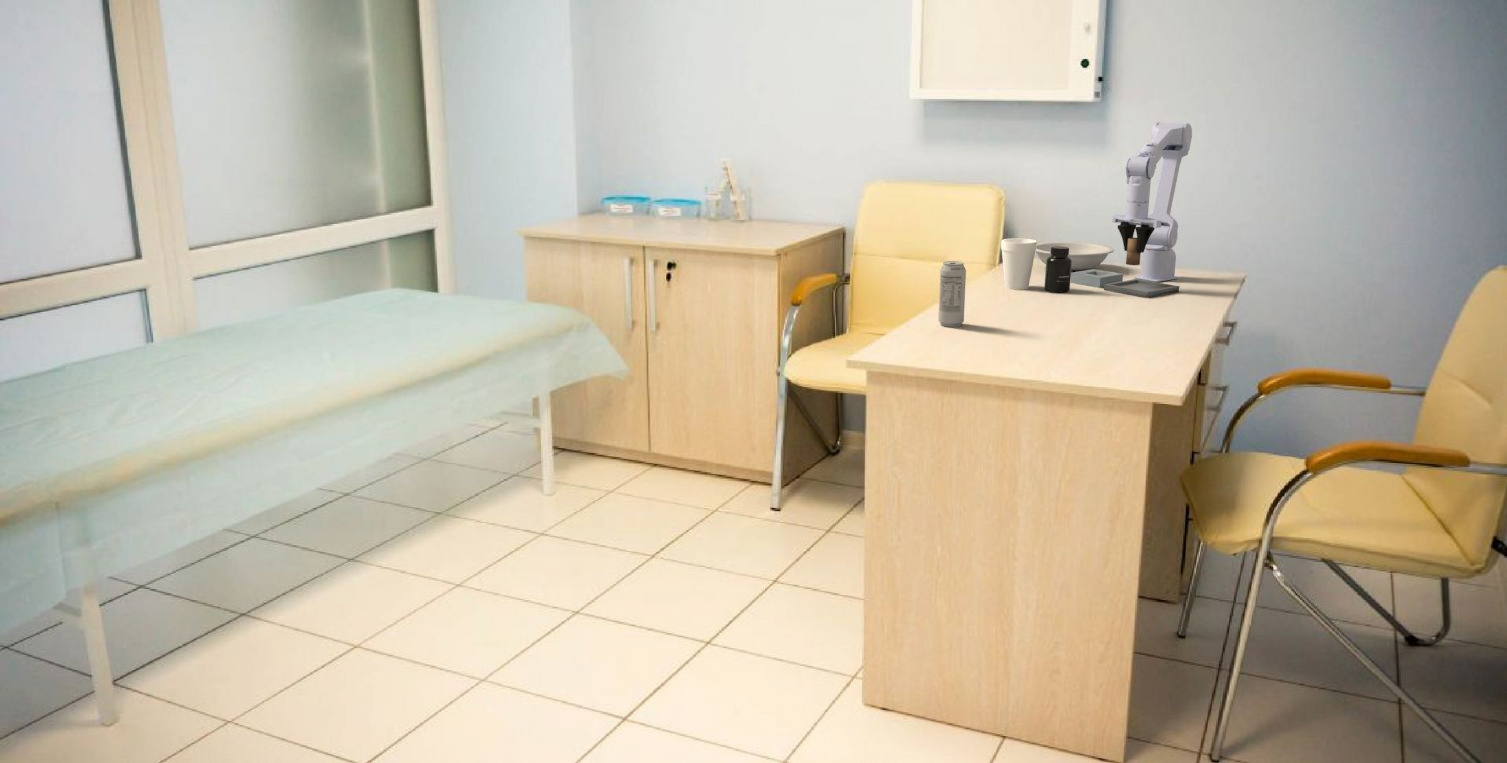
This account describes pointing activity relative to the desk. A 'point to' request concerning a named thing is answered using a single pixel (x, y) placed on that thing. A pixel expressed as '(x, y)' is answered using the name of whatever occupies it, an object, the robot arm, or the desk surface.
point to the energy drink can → (952, 294)
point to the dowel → (1132, 252)
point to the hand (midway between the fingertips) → (1134, 251)
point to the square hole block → (1095, 277)
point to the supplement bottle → (1058, 270)
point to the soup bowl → (1077, 253)
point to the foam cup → (1017, 262)
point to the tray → (1141, 288)
